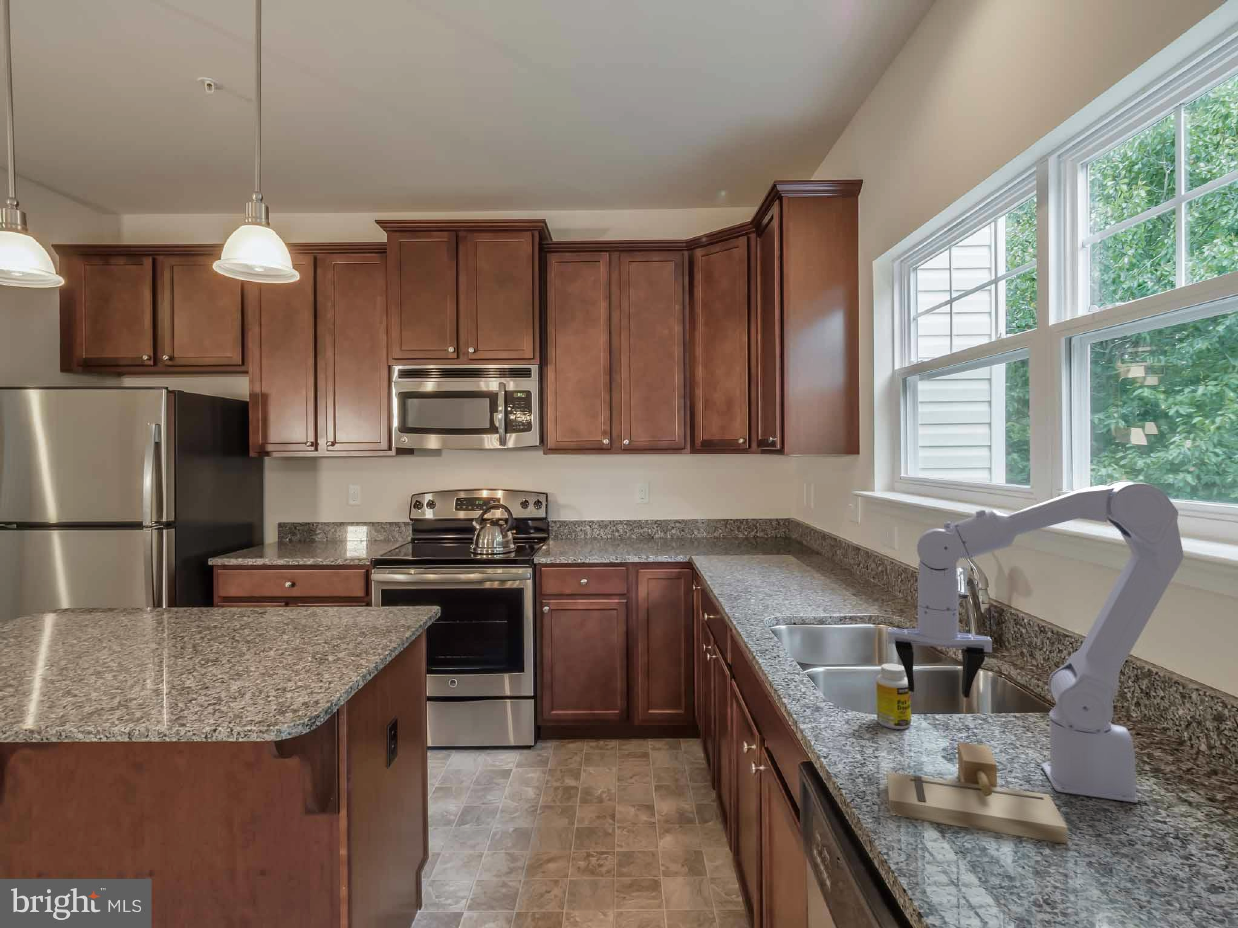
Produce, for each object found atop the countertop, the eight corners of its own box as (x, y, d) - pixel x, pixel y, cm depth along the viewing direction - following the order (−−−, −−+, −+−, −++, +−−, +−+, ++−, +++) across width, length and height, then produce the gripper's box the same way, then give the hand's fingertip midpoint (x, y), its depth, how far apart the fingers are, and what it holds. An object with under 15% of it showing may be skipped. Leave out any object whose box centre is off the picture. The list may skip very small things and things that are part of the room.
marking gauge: (988, 779, 93) (988, 745, 93) (1005, 820, 83) (1004, 782, 83) (958, 775, 94) (957, 742, 94) (970, 814, 84) (969, 777, 84)
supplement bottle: (899, 733, 109) (897, 674, 109) (870, 722, 113) (869, 665, 113) (917, 725, 112) (916, 667, 112) (889, 714, 116) (888, 659, 116)
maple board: (1049, 809, 85) (1049, 793, 85) (1067, 843, 77) (1067, 826, 77) (887, 785, 92) (887, 770, 92) (889, 814, 84) (889, 798, 84)
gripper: (985, 603, 100) (985, 688, 100) (886, 597, 105) (886, 678, 105) (995, 614, 94) (995, 705, 94) (888, 607, 99) (888, 693, 99)
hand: (937, 692), depth 99 cm, fingers open, 7 cm apart
